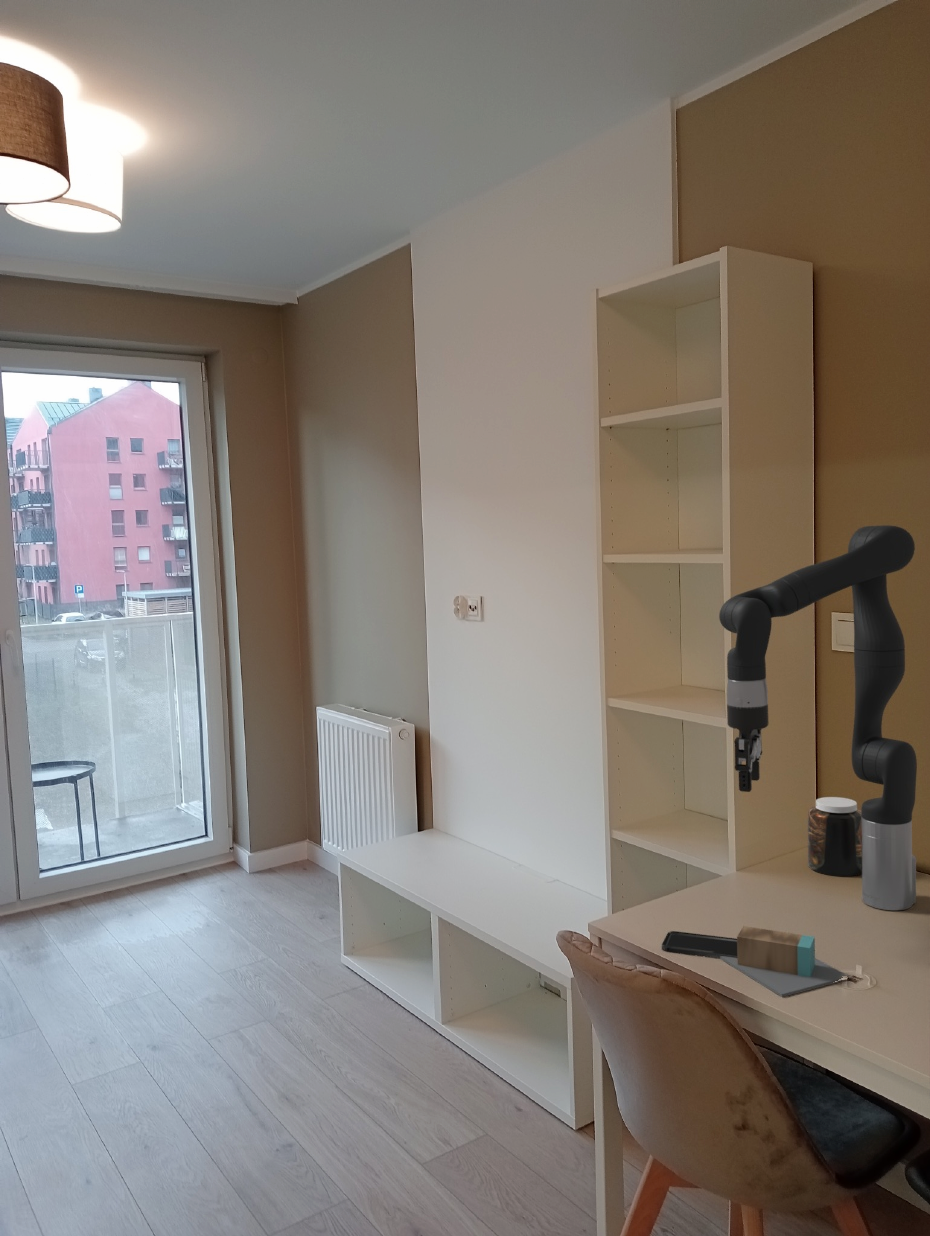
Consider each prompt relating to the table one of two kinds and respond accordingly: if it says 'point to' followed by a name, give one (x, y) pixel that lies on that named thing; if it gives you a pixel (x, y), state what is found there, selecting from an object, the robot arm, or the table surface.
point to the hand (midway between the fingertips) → (749, 785)
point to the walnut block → (776, 951)
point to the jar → (835, 837)
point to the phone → (699, 945)
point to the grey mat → (789, 977)
